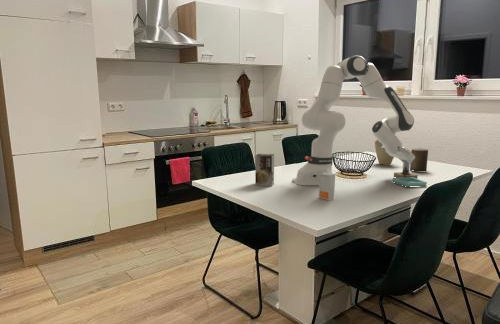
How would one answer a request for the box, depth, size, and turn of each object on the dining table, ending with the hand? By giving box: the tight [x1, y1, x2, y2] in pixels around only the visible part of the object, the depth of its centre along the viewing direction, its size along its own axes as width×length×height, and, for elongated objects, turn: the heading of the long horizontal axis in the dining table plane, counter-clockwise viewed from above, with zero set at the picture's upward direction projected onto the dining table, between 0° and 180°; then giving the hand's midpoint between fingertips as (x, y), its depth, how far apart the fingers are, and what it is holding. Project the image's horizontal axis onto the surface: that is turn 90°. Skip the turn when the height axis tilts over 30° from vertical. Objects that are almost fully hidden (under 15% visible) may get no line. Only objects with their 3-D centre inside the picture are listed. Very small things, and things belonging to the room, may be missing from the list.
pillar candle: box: [409, 147, 429, 172], centre depth 241 cm, size 10×10×15 cm
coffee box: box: [254, 153, 275, 187], centre depth 204 cm, size 9×6×16 cm
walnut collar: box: [393, 171, 419, 179], centre depth 220 cm, size 9×9×3 cm
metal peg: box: [401, 160, 410, 174], centre depth 218 cm, size 4×4×12 cm
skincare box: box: [318, 172, 336, 201], centre depth 179 cm, size 6×4×12 cm
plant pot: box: [374, 139, 395, 166], centre depth 261 cm, size 15×15×16 cm
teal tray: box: [392, 177, 427, 187], centre depth 207 cm, size 12×12×2 cm
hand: (407, 162), depth 218 cm, fingers closed on metal peg, 3 cm apart
